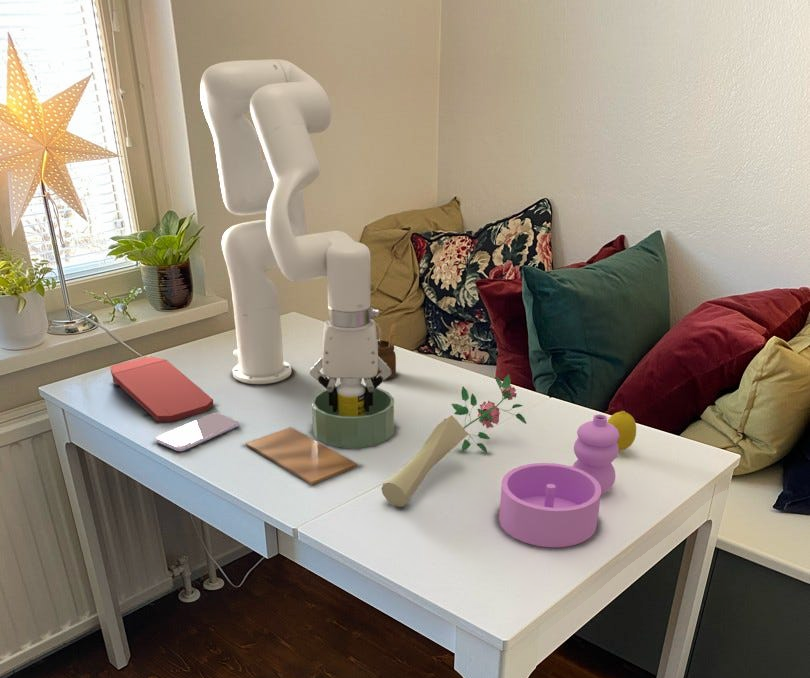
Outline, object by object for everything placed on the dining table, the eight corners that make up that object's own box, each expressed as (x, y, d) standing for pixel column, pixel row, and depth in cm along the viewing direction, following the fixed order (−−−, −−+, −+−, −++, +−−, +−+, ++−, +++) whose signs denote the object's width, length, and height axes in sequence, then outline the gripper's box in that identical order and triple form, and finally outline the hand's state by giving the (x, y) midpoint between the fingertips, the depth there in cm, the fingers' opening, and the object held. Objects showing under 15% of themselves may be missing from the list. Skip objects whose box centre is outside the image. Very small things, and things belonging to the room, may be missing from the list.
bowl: (297, 428, 167) (295, 399, 164) (359, 406, 176) (358, 378, 173) (347, 455, 158) (346, 425, 155) (410, 431, 167) (410, 402, 163)
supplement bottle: (361, 430, 164) (361, 381, 159) (333, 427, 165) (332, 378, 160) (368, 417, 169) (368, 370, 163) (341, 415, 169) (340, 367, 164)
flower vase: (385, 534, 150) (483, 421, 170) (442, 538, 142) (538, 419, 162) (358, 477, 144) (463, 368, 164) (416, 479, 136) (519, 363, 156)
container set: (563, 558, 130) (573, 480, 123) (480, 524, 138) (484, 448, 131) (642, 495, 146) (654, 422, 139) (563, 467, 154) (571, 397, 147)
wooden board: (246, 445, 161) (245, 442, 161) (290, 430, 167) (290, 427, 167) (311, 485, 149) (311, 482, 148) (357, 466, 154) (357, 463, 154)
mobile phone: (241, 420, 168) (179, 448, 158) (242, 425, 168) (180, 453, 158) (215, 410, 171) (152, 436, 162) (215, 415, 172) (153, 441, 162)
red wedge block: (217, 423, 177) (156, 370, 191) (216, 402, 174) (155, 349, 188) (162, 440, 171) (104, 384, 184) (161, 418, 168) (101, 363, 181)
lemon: (613, 442, 163) (618, 402, 159) (638, 451, 160) (645, 411, 155) (595, 451, 160) (601, 411, 155) (621, 461, 156) (627, 420, 152)
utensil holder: (379, 368, 194) (378, 314, 187) (402, 374, 190) (402, 320, 184) (362, 376, 190) (361, 322, 183) (386, 382, 186) (385, 328, 180)
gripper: (397, 308, 159) (396, 400, 169) (302, 308, 158) (306, 400, 168) (398, 323, 152) (397, 417, 162) (299, 322, 152) (304, 417, 162)
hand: (351, 408), depth 165 cm, fingers closed on supplement bottle, 5 cm apart
